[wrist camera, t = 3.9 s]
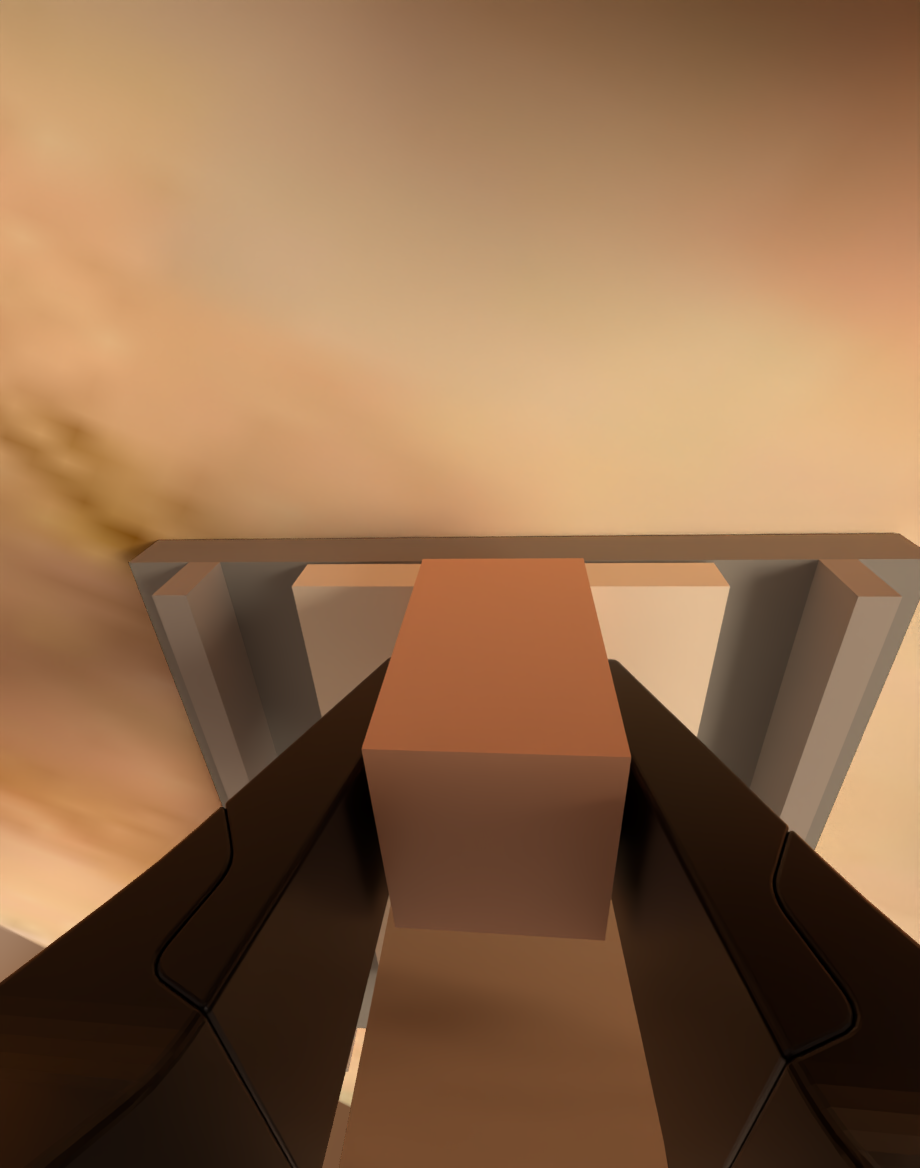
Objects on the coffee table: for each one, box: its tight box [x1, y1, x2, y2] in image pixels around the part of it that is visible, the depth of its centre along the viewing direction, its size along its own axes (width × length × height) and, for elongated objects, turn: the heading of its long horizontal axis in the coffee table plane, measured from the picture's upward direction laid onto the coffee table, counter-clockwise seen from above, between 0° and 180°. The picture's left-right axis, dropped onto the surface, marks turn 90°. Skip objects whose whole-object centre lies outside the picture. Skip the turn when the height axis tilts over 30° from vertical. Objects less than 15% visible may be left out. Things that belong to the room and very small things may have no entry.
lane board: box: [129, 534, 920, 1072], centre depth 14 cm, size 18×14×2 cm
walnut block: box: [339, 900, 668, 1168], centre depth 12 cm, size 5×5×5 cm
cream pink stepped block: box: [292, 558, 730, 965], centre depth 11 cm, size 14×7×5 cm, turn 3°
